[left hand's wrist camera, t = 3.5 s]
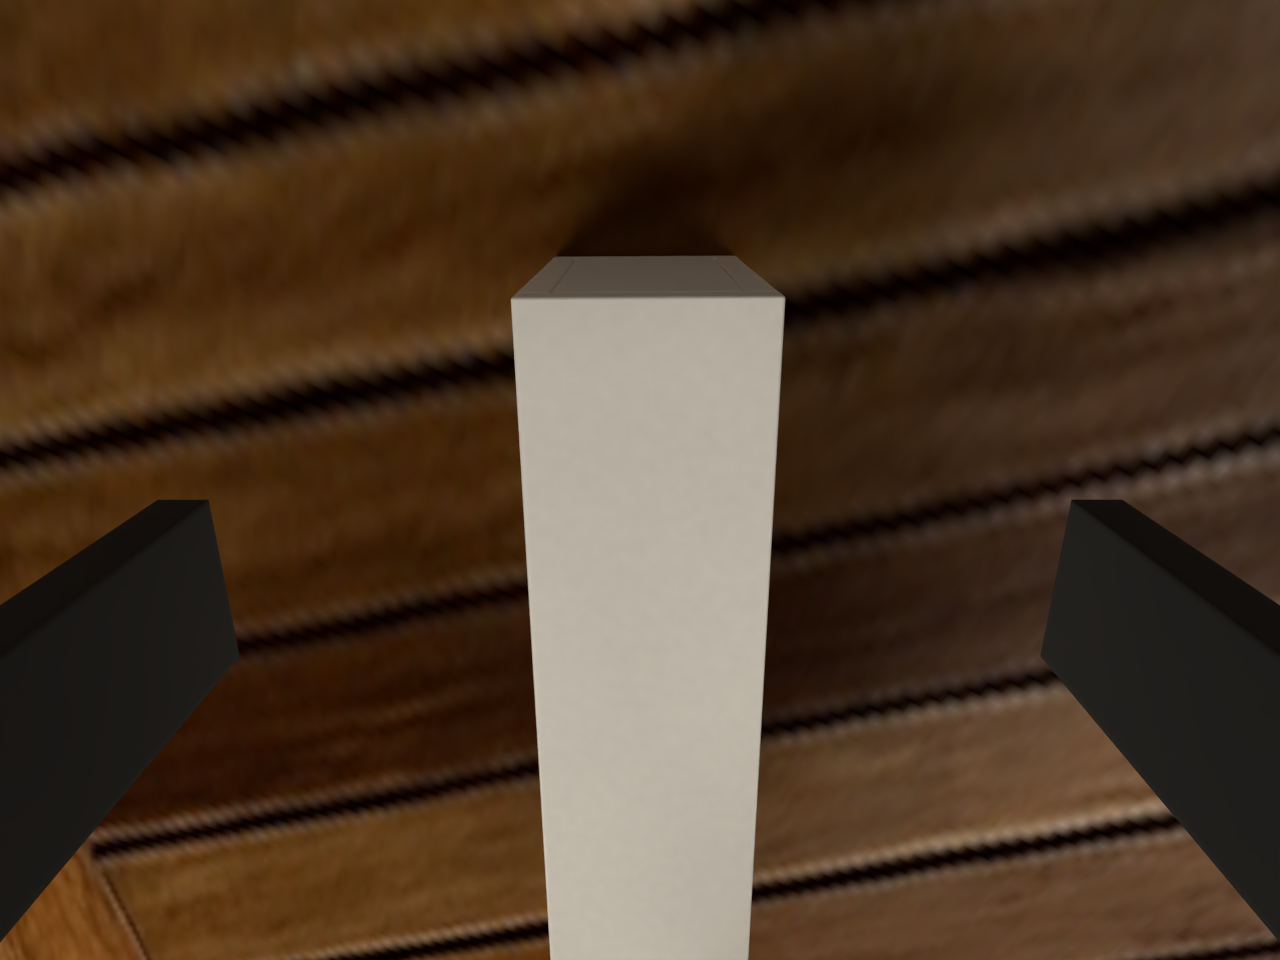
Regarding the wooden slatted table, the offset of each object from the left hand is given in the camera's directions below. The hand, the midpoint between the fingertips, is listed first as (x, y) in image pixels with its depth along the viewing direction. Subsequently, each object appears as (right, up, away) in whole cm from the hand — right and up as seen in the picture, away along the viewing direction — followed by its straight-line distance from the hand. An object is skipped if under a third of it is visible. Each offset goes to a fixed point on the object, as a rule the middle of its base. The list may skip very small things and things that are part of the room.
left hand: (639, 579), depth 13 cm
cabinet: (0, -1, +17) cm, 17 cm away
